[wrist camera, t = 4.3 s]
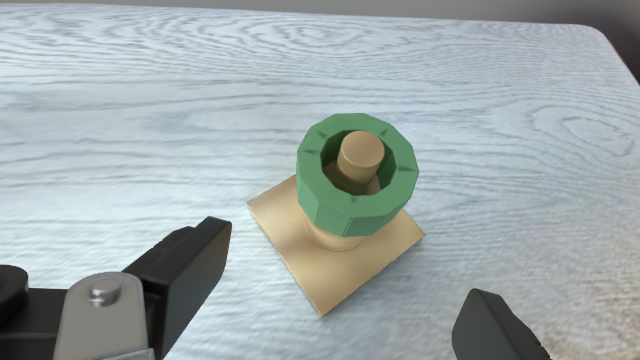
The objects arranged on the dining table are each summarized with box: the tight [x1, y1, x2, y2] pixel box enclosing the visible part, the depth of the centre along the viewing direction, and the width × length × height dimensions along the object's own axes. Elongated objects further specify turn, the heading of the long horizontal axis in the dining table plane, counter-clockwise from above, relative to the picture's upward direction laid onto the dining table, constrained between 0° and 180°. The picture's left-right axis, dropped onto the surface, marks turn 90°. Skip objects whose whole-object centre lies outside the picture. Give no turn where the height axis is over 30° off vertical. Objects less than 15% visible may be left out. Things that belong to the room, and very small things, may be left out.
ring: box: [296, 113, 419, 237], centre depth 18 cm, size 6×6×3 cm
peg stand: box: [247, 131, 425, 318], centre depth 21 cm, size 10×10×11 cm
